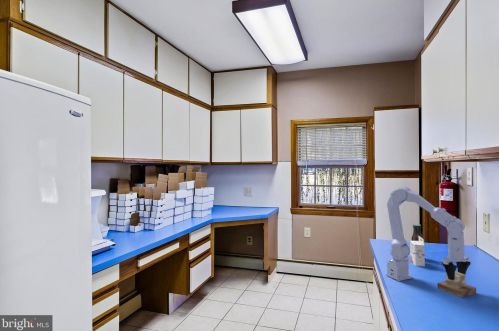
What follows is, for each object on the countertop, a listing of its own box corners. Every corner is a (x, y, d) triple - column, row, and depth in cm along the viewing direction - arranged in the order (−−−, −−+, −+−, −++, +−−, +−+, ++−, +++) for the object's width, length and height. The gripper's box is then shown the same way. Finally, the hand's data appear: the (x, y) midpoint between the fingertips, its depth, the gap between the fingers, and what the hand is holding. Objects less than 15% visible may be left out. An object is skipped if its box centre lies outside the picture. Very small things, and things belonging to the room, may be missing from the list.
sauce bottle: (420, 256, 173) (419, 223, 173) (426, 260, 167) (426, 225, 167) (409, 256, 173) (408, 223, 173) (415, 260, 167) (415, 225, 166)
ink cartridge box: (409, 260, 166) (409, 235, 166) (419, 261, 165) (419, 235, 165) (415, 266, 158) (414, 239, 158) (425, 266, 157) (424, 239, 157)
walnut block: (460, 299, 120) (460, 291, 120) (437, 289, 130) (437, 282, 130) (476, 294, 124) (476, 287, 124) (452, 285, 133) (452, 279, 133)
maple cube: (458, 288, 124) (457, 276, 124) (446, 283, 129) (446, 272, 128) (465, 286, 126) (465, 274, 126) (454, 282, 130) (453, 270, 130)
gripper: (454, 251, 121) (454, 284, 121) (476, 247, 126) (477, 279, 126) (437, 247, 127) (438, 278, 127) (459, 243, 132) (460, 273, 132)
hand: (456, 278), depth 127 cm, fingers open, 6 cm apart
